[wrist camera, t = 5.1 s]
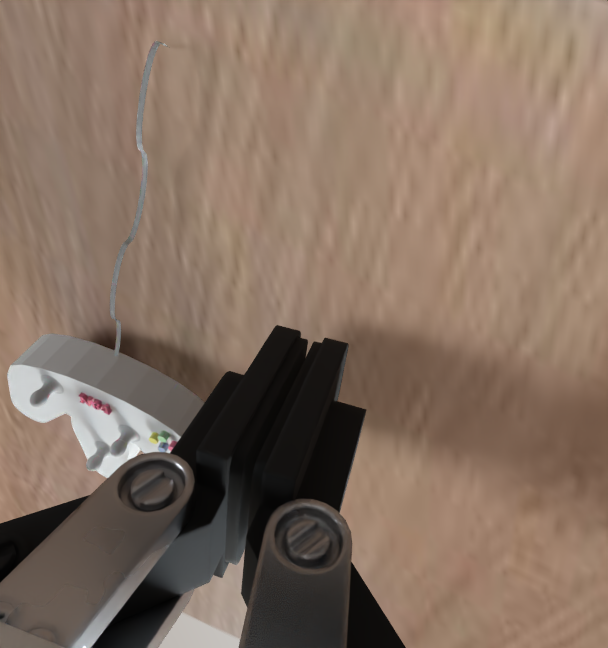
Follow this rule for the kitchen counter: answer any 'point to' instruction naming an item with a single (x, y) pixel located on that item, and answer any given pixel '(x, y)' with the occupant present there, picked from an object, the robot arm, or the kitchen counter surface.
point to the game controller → (105, 379)
